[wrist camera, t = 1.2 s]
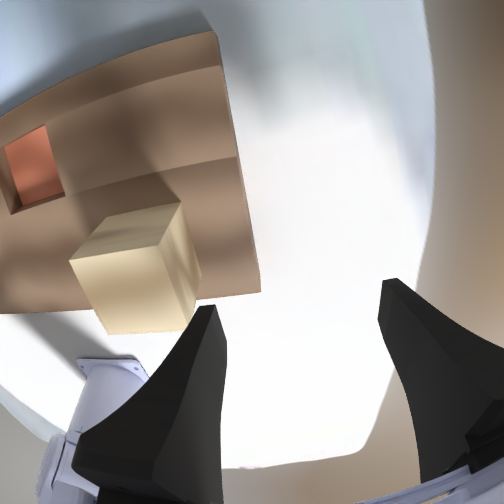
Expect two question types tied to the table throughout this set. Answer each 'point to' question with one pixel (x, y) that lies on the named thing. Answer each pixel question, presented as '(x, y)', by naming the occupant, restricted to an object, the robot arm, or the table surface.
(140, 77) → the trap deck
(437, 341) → the robot arm
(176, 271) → the pine block
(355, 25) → the table surface
